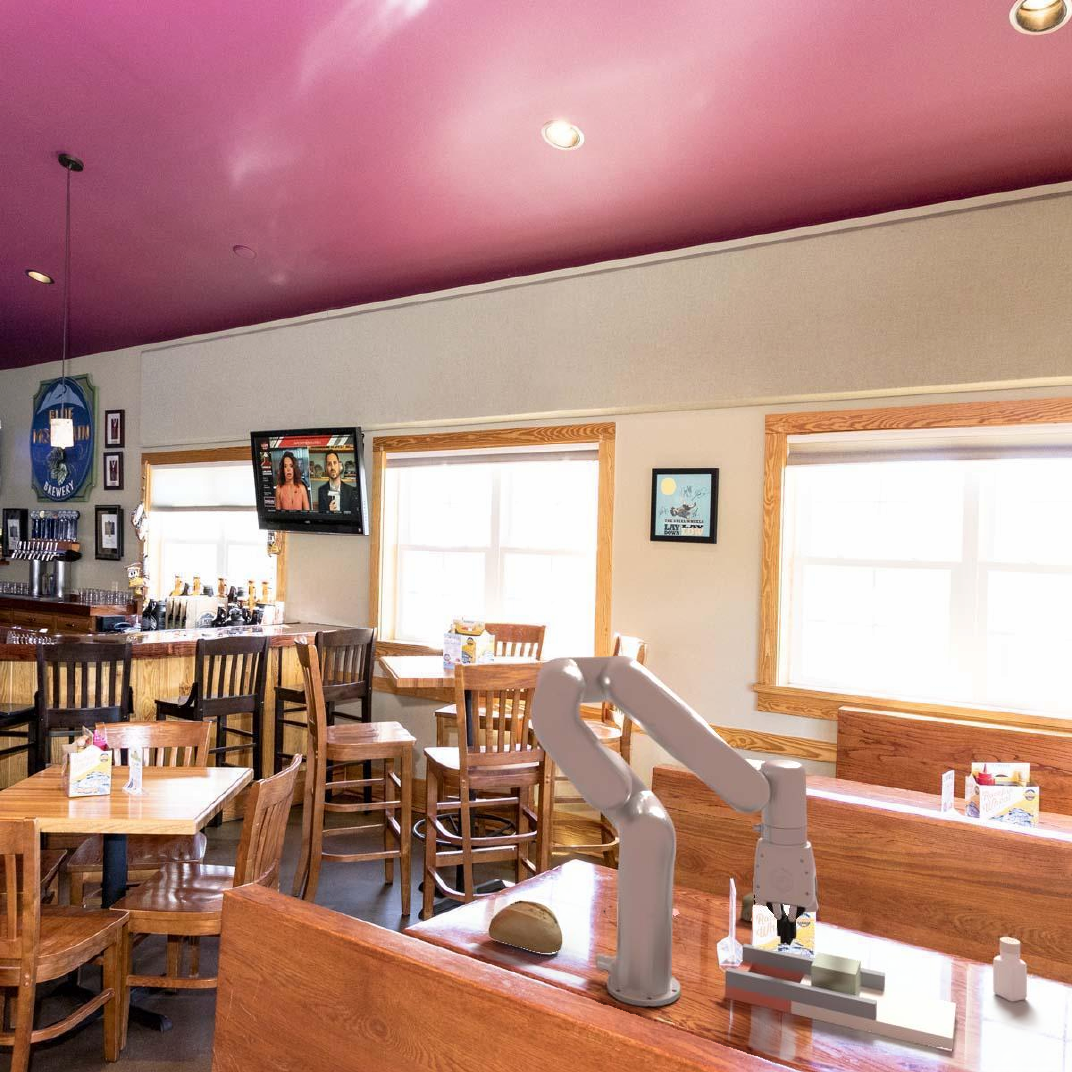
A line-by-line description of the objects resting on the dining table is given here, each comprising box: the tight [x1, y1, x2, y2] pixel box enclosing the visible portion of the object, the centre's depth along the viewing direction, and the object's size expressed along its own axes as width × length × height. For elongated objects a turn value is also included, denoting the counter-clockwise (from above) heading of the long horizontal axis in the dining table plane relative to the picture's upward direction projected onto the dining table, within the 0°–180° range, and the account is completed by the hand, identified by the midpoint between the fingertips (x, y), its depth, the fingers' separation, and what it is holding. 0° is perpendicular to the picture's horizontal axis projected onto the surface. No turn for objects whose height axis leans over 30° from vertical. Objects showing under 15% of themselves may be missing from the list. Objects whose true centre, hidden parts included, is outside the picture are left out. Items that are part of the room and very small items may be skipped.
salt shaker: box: [992, 936, 1028, 1002], centre depth 156 cm, size 4×4×10 cm
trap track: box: [724, 943, 957, 1050], centre depth 150 cm, size 35×13×4 cm, turn 63°
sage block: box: [811, 952, 862, 996], centre depth 151 cm, size 7×6×5 cm
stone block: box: [740, 892, 754, 923], centre depth 187 cm, size 6×12×5 cm, turn 60°
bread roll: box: [488, 900, 563, 953], centre depth 172 cm, size 10×15×8 cm, turn 67°
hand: (786, 941), depth 155 cm, fingers closed
